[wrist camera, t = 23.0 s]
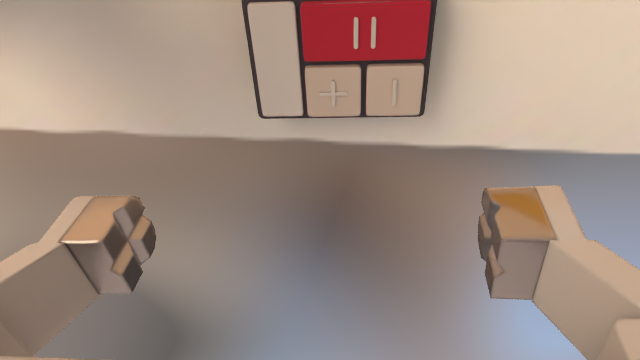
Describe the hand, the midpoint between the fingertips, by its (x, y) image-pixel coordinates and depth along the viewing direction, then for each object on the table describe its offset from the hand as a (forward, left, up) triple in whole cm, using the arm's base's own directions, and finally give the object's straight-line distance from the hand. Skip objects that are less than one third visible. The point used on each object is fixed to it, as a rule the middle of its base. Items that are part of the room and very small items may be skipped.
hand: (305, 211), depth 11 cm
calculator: (-2, -9, -31) cm, 33 cm away
